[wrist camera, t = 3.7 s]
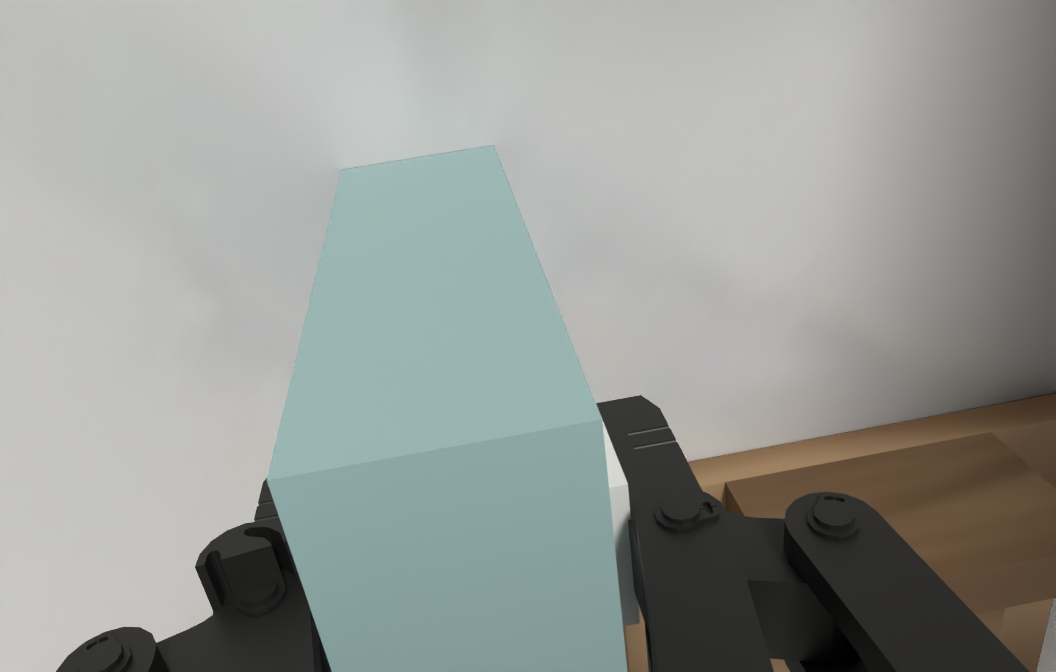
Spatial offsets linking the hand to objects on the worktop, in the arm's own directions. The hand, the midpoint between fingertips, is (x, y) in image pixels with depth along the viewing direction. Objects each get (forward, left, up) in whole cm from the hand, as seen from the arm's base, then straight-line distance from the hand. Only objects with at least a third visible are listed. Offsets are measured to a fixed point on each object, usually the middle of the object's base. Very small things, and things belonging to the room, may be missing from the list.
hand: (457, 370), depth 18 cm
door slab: (0, 0, -1) cm, 1 cm away
